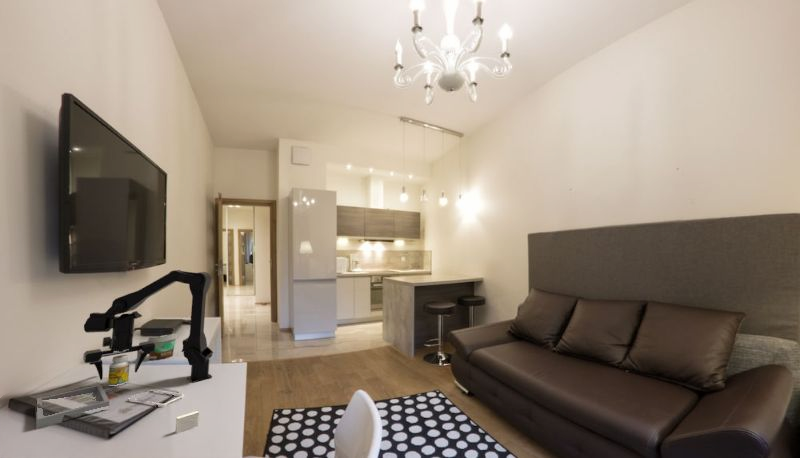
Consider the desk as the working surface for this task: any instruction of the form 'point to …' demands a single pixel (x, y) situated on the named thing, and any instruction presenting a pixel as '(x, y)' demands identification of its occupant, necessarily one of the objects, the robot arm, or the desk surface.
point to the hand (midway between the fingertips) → (118, 375)
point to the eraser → (187, 421)
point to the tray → (57, 417)
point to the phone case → (169, 401)
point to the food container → (163, 346)
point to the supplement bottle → (119, 370)
